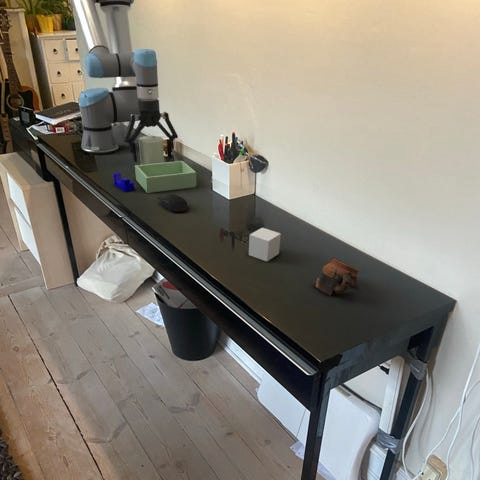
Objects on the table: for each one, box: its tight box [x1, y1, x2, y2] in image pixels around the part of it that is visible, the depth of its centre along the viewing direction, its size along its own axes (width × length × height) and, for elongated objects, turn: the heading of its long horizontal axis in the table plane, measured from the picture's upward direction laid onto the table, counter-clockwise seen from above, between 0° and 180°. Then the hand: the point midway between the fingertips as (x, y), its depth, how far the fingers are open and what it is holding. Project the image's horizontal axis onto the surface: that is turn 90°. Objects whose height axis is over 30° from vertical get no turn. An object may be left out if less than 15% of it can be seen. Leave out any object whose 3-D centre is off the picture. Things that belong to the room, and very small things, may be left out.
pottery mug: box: [315, 257, 359, 296], centre depth 117 cm, size 12×10×8 cm
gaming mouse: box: [159, 193, 189, 213], centre depth 158 cm, size 6×15×4 cm, turn 36°
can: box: [138, 135, 165, 165], centre depth 184 cm, size 9×9×12 cm
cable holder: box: [112, 172, 135, 193], centre depth 170 cm, size 8×4×4 cm, turn 39°
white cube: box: [248, 227, 282, 262], centre depth 131 cm, size 6×6×6 cm
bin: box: [134, 160, 197, 194], centre depth 174 cm, size 14×18×5 cm
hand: (152, 159), depth 185 cm, fingers open, 13 cm apart
